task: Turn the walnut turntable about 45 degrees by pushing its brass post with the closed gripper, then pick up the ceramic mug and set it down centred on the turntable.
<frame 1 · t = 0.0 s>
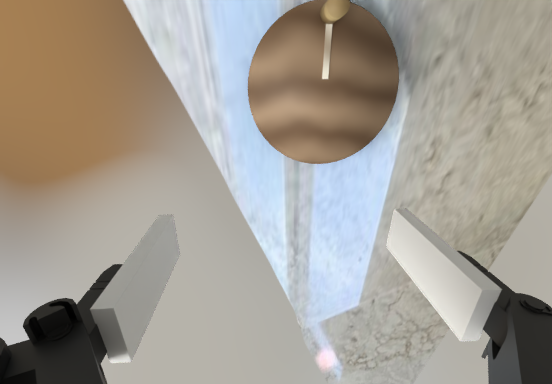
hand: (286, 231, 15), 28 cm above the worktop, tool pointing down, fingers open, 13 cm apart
turntable: (326, 91, 34), point 5 cm above the worktop, hinge at 0.0°
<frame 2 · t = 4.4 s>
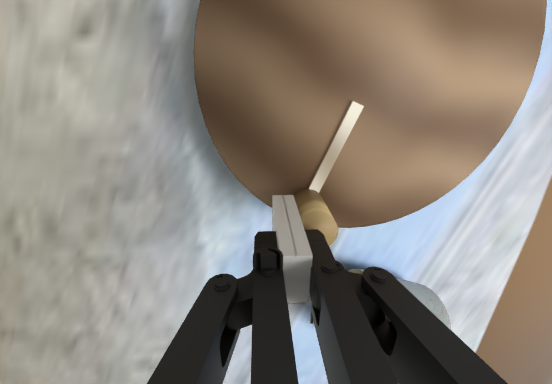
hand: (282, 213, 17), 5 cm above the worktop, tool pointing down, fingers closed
ceramic mug: (362, 294, 28), on the worktop
turntable: (377, 79, 15), point 5 cm above the worktop, hinge at 0.1°, touching gripper
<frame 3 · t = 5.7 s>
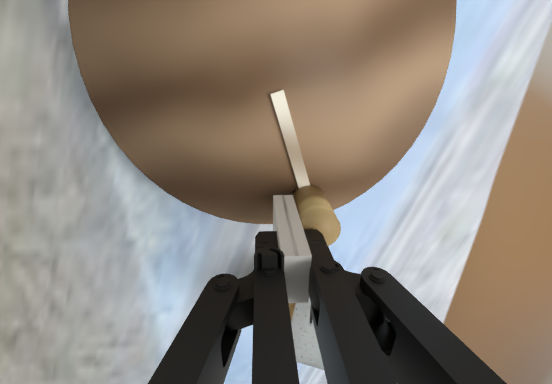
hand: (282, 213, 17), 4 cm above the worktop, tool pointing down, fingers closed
ceramic mug: (306, 295, 27), on the worktop
turntable: (269, 63, 13), point 5 cm above the worktop, hinge at 40.5°, touching gripper
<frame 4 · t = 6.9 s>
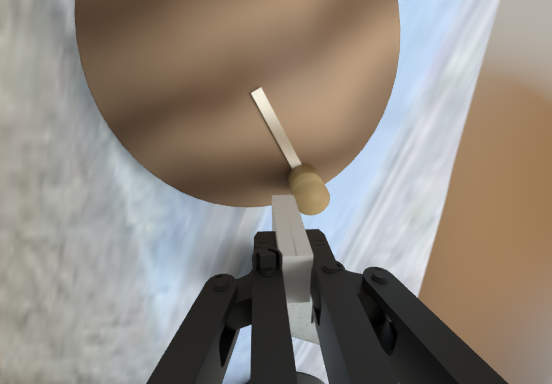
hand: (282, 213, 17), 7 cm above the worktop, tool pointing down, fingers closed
ceramic mug: (289, 277, 30), on the worktop
turntable: (243, 68, 16), point 5 cm above the worktop, hinge at 50.9°, touching gripper
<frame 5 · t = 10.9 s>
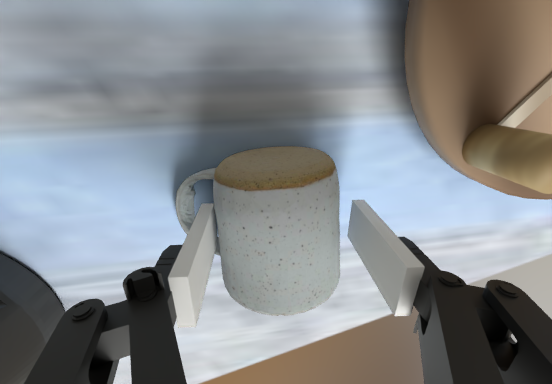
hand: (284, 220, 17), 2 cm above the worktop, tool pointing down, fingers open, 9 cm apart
ceramic mug: (256, 199, 19), on the worktop, touching gripper
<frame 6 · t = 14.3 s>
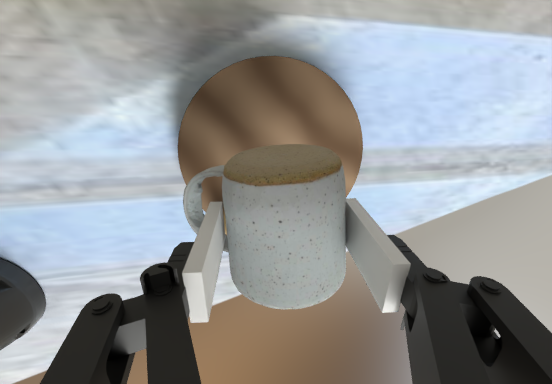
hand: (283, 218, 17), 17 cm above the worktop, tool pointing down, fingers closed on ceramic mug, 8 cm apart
ceramic mug: (262, 197, 20), point 14 cm above the worktop, touching gripper
turntable: (273, 162, 28), point 5 cm above the worktop, hinge at 51.1°
when the fingers open (7 cm above the worktop, at t = 17.5 s): ceramic mug stays where it is, resting on turntable.
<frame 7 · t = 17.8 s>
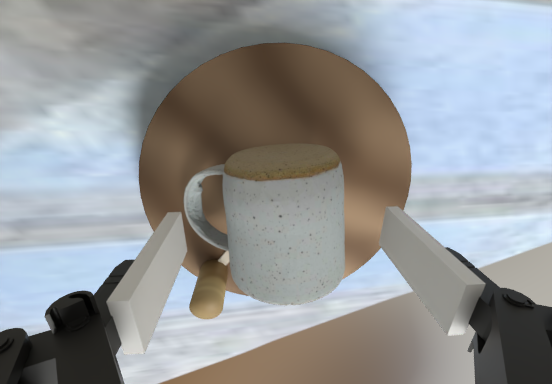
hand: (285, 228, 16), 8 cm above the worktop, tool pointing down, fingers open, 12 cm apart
ceramic mug: (261, 196, 20), point 4 cm above the worktop, touching turntable
turntable: (280, 202, 19), point 5 cm above the worktop, hinge at 51.1°, touching ceramic mug
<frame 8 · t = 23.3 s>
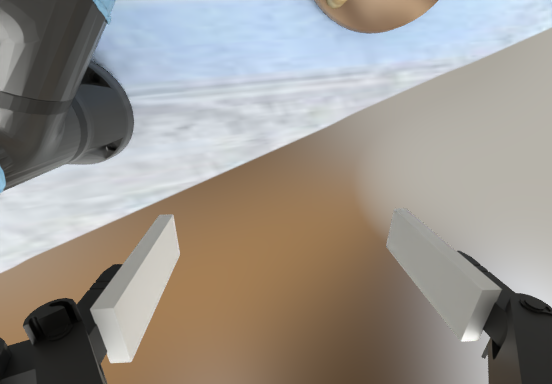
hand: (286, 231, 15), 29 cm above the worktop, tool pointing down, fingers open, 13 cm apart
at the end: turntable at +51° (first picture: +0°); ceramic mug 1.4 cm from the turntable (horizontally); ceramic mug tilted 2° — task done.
